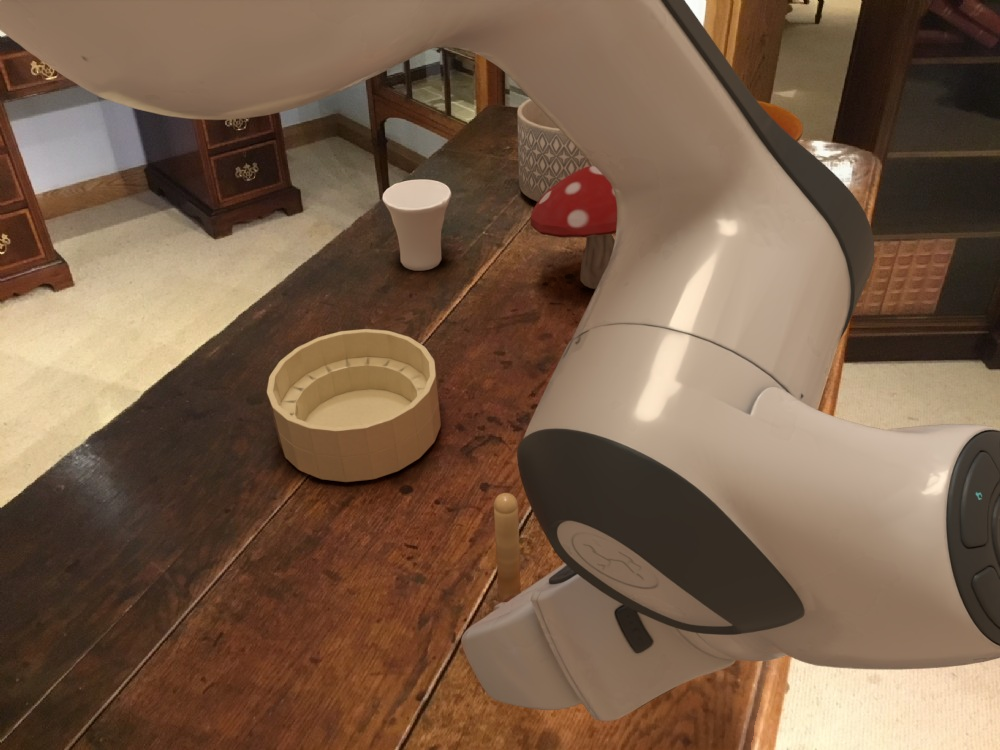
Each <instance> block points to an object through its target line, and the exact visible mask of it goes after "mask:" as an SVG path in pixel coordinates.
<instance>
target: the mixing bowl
mask: <svg viewBox="0 0 1000 750" xmlns="http://www.w3.org/2000/svg"><path fill="white" fill-rule="evenodd" d="M435 361H436V360H435V359H434V358H433V355H431V353H430V352H429V351H428V349H427V348H426V346H424V345H422V343H419V342H418V341H416V340H415V339H413V338H412V337H410V336H408V335H404V334H401V333H398V332H394V331H390V330H384V329H374V328H373V329H371V328H363V329H360V328H359V329H352V330H351V329H350V330H341V331H337V332H334V333H329V334H326V335H322V336H318V337H316V338H314V339H312V340H310V341H308V342H306V343H304V344H303V343H302V344H301V345H299V346H297V347H296V348H294V349H293V350H292V351H291V352H289V353H287V355H285V356H284V357H283V358H282V359H280V361H278V363H277V364H276V366H275V367H274V368H273V370H272V371H271V373H270V375H269V376H268V381H267V388H266V396H267V400H268V404H269V407H270V411H271V415H272V418H273V423H274V427H275V431H276V435H277V439H278V441H279V446H280V448H281V451H282V453H283V456H284V458H285V459H286V460H287V461H288V462H289V463H290V464H292V465H293V466H294V467H295V468H296V469H297V470H298V471H300V472H302V473H304V474H307V475H309V476H311V477H314V478H317V479H320V480H324V481H325V480H326V481H332V482H333V481H334V482H341V483H351V482H360V481H369V480H376V479H378V478H382V477H385V476H388V475H392V474H394V473H397V472H399V471H401V470H403V469H405V468H406V467H408V466H409V465H411V464H413V463H414V462H416V461H418V460H420V458H421V457H422V456H423V455H424V454H425V453H427V451H428V450H429V449H430V448H431V447H432V445H433V444H435V442H436V439H437V437H438V434H439V432H440V429H441V427H442V422H441V411H440V401H439V393H438V381H437V372H436V371H437V370H436V362H435Z"/></svg>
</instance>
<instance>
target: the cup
mask: <svg viewBox="0 0 1000 750" xmlns="http://www.w3.org/2000/svg"><path fill="white" fill-rule="evenodd" d="M451 197H452V191H451V188H450V187H449V186H448V185H446V183H443V182H441V181H437V180H433V179H410V180H405V181H400V182H397V183H394V184H393V185H391V186H390V187H388V188H386V190H385V191H384V192H383V193H382V201H383V203H384V205H385V207H386V208H387V210H388V212H389V214H390V216H391V220H392V224H393V226H394V229H395V232H396V237H397V240H398V241H397V242H398V246H399V247H398V248H399V254H400V256H399V259H400V260H399V261H400V263H401V264H402V266H403V267H404V268H405V269H407V270H410V271H415V272H416V271H417V272H421V271H422V272H423V271H429V270H432V269H434V268H436V267H439V265H440V263H441V261H442V259H443V258H442V231H443V230H442V229H443V225H444V222H445V215H446V211H447V208H448V205H449V204H450V201H451Z"/></svg>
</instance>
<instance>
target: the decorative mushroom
mask: <svg viewBox="0 0 1000 750" xmlns="http://www.w3.org/2000/svg"><path fill="white" fill-rule="evenodd" d="M530 226H531V227H532V229H534V230H535V231H537V232H538V233H539V234H541V235H545V236H550V237H556V238H586V239H585V246H584V250H583V254H582V258H581V265H580V266H581V268H580V276H579V278H580V282H581V284H583V286H585V287H587V288H589V289H592V290H596V288H597V286H598V284H599V282H600V280H601V278H602V276H603V274H604V272H605V270H606V268H607V266H608V263H609V261H610V258H611V255H612V252H613V247H614V243H615V237H614V235H613V234H616V229H617V203H616V197H615V193H614V190H613V187H612V185H611V184H610V182H609V181H608V180H607V178H606V177H605V176H604V175H603V174H602V173H601V172H600V171H599V170H598V169H597V168H596V167H595V166H588V167H585V168H583V169H580V170H578V171H576V172H574V173H573V174H571V175H569V176H567V177H566V178H564V179H563V180H561V181H560V182H558V183H557V184H556V185H555V186H553V187H552V188H551V189H549V190H548V191H547V192H546V193H545V194H544V195H543V196H542V197H541V198H540V200H539V201H538V202H536V204H535V206H534V207H533V209H532V210H531V215H530Z"/></svg>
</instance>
